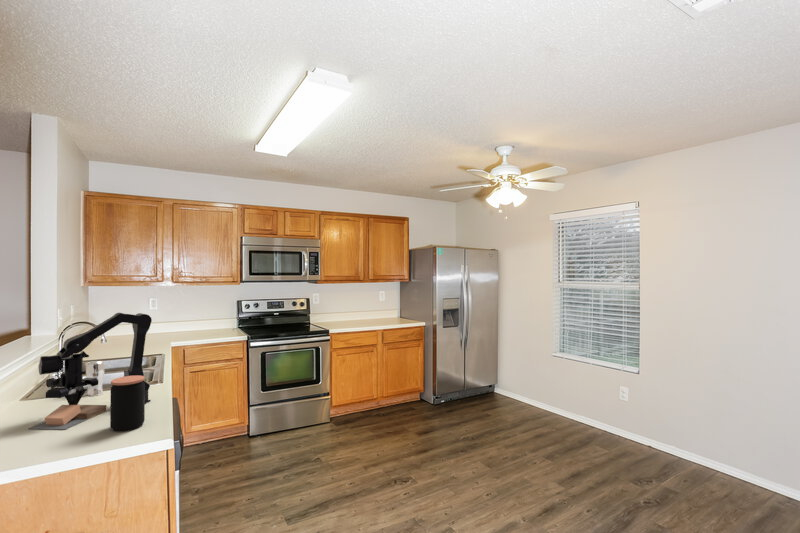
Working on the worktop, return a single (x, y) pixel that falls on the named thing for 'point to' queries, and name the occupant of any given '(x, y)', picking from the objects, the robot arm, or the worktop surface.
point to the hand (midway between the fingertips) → (73, 409)
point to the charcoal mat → (57, 427)
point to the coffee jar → (127, 403)
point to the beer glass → (97, 372)
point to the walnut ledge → (90, 411)
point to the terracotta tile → (62, 415)
